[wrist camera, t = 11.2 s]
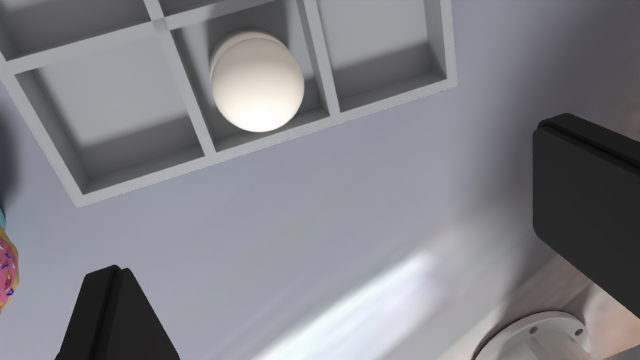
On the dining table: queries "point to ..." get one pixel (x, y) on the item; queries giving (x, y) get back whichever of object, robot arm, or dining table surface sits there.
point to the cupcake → (7, 266)
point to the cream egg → (255, 80)
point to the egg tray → (201, 77)
